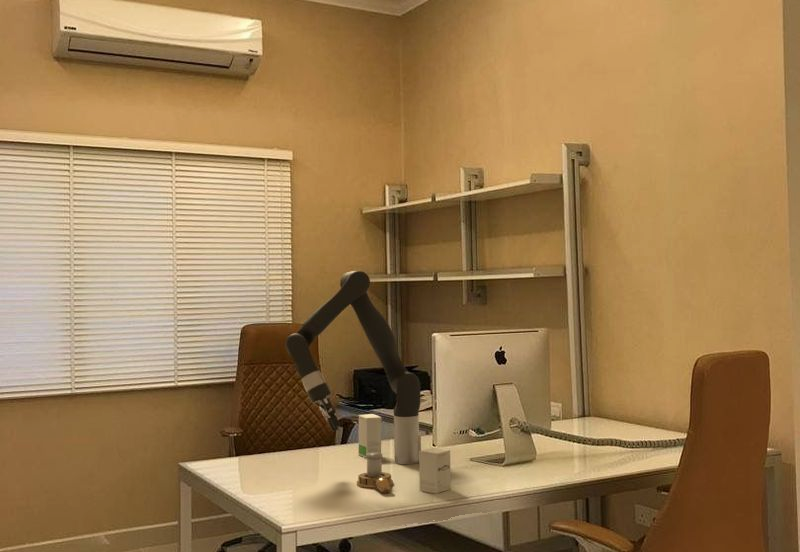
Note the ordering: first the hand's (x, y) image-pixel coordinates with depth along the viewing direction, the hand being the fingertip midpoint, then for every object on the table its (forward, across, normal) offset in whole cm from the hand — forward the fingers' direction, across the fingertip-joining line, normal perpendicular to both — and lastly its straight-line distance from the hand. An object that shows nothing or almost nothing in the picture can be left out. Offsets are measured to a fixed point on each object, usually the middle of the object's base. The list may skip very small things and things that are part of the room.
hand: (336, 428), depth 288 cm
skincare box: (+12, +37, -12) cm, 40 cm away
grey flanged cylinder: (+22, -9, -2) cm, 24 cm away
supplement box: (+33, -20, -17) cm, 43 cm away
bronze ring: (+24, -12, -2) cm, 27 cm away
